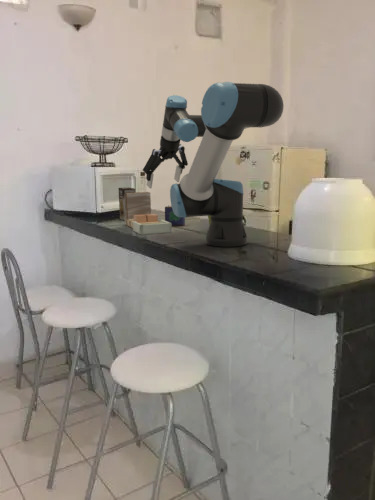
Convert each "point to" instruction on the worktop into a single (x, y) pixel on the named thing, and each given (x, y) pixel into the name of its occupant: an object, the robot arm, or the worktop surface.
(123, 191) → the coffee box
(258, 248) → the worktop surface
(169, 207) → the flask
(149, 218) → the tile
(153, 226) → the tray
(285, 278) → the worktop surface
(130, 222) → the board
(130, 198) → the tan block
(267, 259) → the worktop surface
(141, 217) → the tile
